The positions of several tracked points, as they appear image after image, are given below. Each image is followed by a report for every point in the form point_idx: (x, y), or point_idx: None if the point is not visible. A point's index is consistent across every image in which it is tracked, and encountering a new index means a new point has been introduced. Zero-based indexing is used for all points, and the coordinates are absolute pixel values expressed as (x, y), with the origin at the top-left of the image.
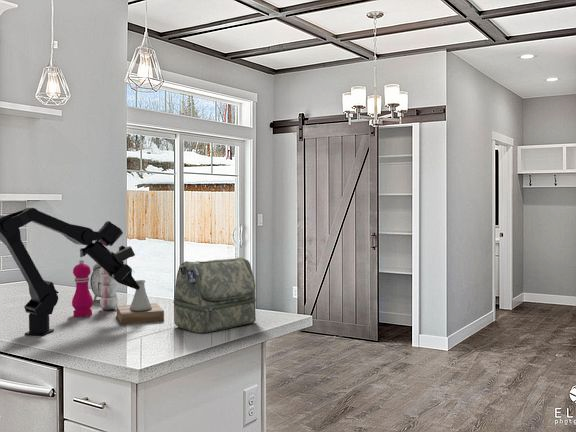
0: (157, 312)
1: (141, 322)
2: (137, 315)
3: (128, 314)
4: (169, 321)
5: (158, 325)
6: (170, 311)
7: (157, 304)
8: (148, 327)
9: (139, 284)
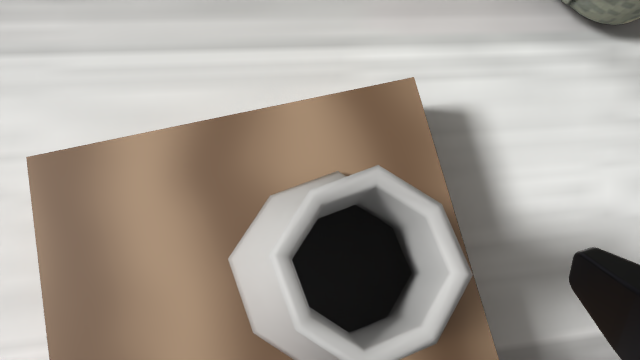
0: (424, 127)
1: None
2: None
3: (494, 356)
4: (411, 73)
5: (529, 134)
6: (43, 80)
7: (103, 143)
8: (586, 192)
9: (434, 273)
